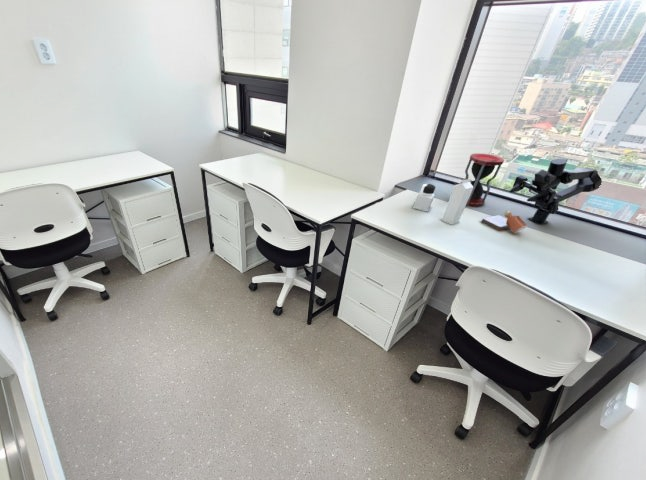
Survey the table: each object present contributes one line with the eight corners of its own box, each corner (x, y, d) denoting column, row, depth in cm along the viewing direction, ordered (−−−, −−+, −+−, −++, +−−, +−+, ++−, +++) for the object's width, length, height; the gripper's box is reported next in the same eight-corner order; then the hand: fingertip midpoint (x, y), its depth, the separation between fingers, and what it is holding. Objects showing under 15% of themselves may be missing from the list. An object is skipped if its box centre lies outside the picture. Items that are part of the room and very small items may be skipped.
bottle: (524, 234, 151) (532, 219, 146) (515, 236, 149) (524, 221, 144) (502, 224, 160) (510, 209, 154) (494, 226, 158) (502, 211, 153)
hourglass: (451, 201, 181) (468, 158, 165) (456, 193, 191) (473, 151, 176) (481, 209, 174) (503, 164, 158) (485, 200, 184) (505, 156, 169)
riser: (496, 218, 165) (498, 215, 163) (514, 227, 157) (516, 223, 156) (480, 222, 161) (482, 218, 159) (498, 230, 154) (500, 227, 152)
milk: (458, 222, 160) (476, 180, 146) (450, 224, 157) (469, 182, 144) (448, 217, 164) (465, 176, 150) (440, 219, 162) (457, 178, 148)
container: (430, 207, 174) (438, 184, 166) (427, 211, 169) (435, 188, 161) (416, 203, 177) (423, 181, 169) (412, 208, 172) (420, 185, 164)
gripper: (534, 160, 149) (507, 172, 147) (573, 176, 136) (543, 189, 134) (526, 181, 157) (500, 192, 155) (562, 198, 144) (534, 210, 142)
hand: (518, 195), depth 147 cm, fingers open, 9 cm apart
